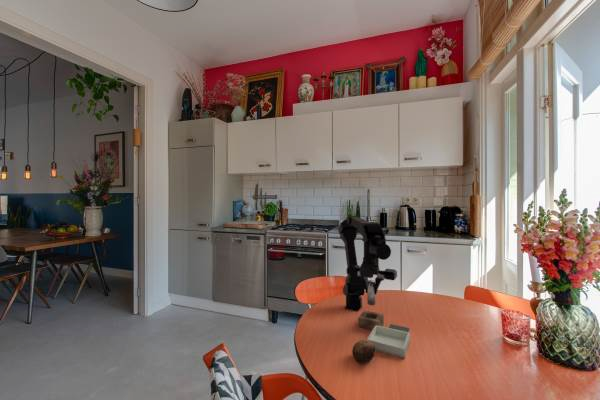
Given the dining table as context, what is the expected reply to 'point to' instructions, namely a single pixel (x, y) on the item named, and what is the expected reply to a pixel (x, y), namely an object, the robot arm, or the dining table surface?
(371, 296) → the pin
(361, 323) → the brown hollow block
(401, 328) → the mat
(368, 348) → the brown coconut
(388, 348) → the tray
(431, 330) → the dining table surface
